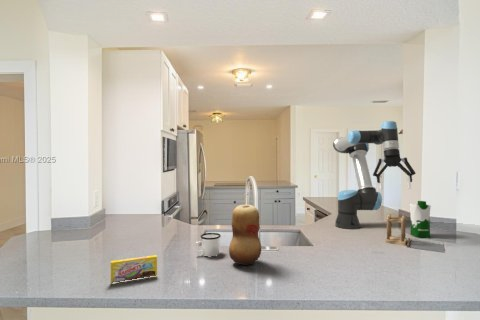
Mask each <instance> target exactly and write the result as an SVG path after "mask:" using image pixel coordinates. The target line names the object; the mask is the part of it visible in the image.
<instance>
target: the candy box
mask: <svg viewBox="0 0 480 320" xmlns="http://www.w3.org/2000/svg"><path fill="white" fill-rule="evenodd" d="M157 262H158V256H157V254H154V255H146V256H140V257H139V256H138V257H131V258H124V259H117V260H111V261H110V284H111V283H113V282H120V281H125V280H132V279H137V278H144V277H150V276H156V275H157V276H158V263H157Z"/></svg>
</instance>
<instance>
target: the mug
mask: <svg viewBox="0 0 480 320" xmlns="http://www.w3.org/2000/svg"><path fill="white" fill-rule="evenodd" d="M200 239H201V240H199V241H196V242H195V244H194V249H195V252H196V253H201V256H202V257H204V256H216V255H218V254H219V253H221V252H220V250H221V249H220V248H221V247H220V241H221V240H220V239H221V233H218V232H206V233H202V234H201V235H200ZM197 243H198V244H199V243H201V249H200V250H197ZM219 255H220V254H219ZM219 255H218V256H219ZM216 257H217V256H216Z"/></svg>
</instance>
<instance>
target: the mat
mask: <svg viewBox="0 0 480 320" xmlns="http://www.w3.org/2000/svg"><path fill="white" fill-rule="evenodd" d="M410 240H411V239H410ZM409 249H417V250H424V251H431V252H436V253H437V252H439V253H443V254H444V253H446V252H445V245H444V244H443V243H442V244H441V243H434V242H427V241H420V240H413V239H412V240H411V241H410V244H409Z"/></svg>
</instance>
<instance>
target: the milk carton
mask: <svg viewBox="0 0 480 320" xmlns="http://www.w3.org/2000/svg"><path fill="white" fill-rule="evenodd" d="M409 208H410V209H409V210H410V211H409V212H410V235H411V236H413V237H415V238H417V237H428V239H429V238H431V216H430V215H431V205H430V204H427V201H426V200H418V201H417V203H409Z"/></svg>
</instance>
